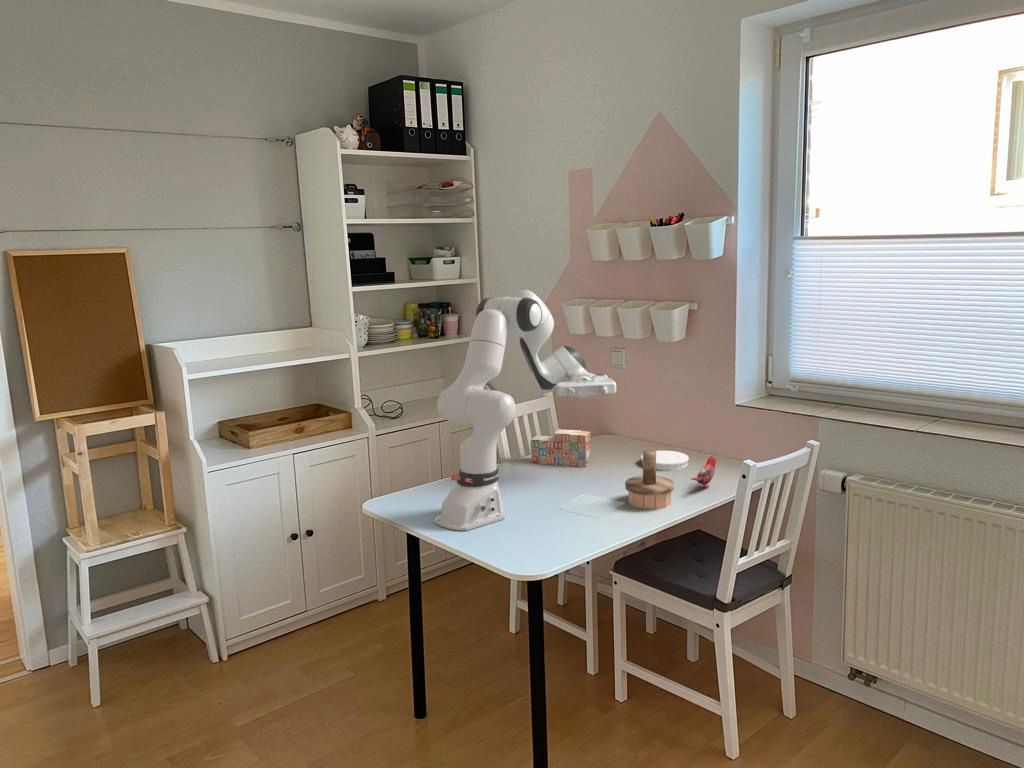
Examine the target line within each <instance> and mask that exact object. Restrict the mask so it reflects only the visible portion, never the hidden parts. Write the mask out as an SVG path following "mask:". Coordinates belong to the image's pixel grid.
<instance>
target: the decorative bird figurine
mask: <svg viewBox="0 0 1024 768" xmlns="http://www.w3.org/2000/svg"><path fill="white" fill-rule="evenodd" d="M716 465H717V459H716V457H715V456H714V455H711V456H710V457H709V458H707V461H706V463H705V465H703V467H702V469H701V470H700V471H699V473H698V474H697V475H696V477H691V478H690V480H692V481H696V482H697V484H699V485H702V486H703V488H702V490H705V489H708V488H709V487H710V484H709V483H711V481H712V479H713V478H714V475H715V471H716Z"/></svg>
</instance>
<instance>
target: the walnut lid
mask: <svg viewBox="0 0 1024 768" xmlns="http://www.w3.org/2000/svg"><path fill="white" fill-rule="evenodd" d="M656 451H657V450H653V449H652V450H651V449H647V450H643V451H642V455H643V465H642V475H638V476H633V477H629V478H628V479H626V480H625V482H624V485H625V486H624V487H625V490H627V492H628V491H629V492H632V493H635V494H640V495H662V494H667V493H670V492H671V493H672V492H673V491H674V490H675V482H674V481H673V480H672V479H670V478H668V477H664V476H658V475H657V470H656Z"/></svg>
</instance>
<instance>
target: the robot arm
mask: <svg viewBox="0 0 1024 768" xmlns="http://www.w3.org/2000/svg"><path fill="white" fill-rule="evenodd" d="M554 327H555V320H554V317H553V315H552V313H551V311H550V310H549V308H548V307H547V306H546V304H545V303H544V302H543V300H542V299H541V298H540V297H539V296H538V295H537V294H535V293H534V292H533V291H531V290H529V289H523V290H519V291H517V292H516V293H514V295H512V296H499V297H498V296H497V297H486V298H484V299H482V300H481V301H480V302H479V304H478V305H477V307H476V310H475V321H474V324H473V327H472V330H471V333H470V337H469V342H468V347H467V352H466V357H465V360H464V363H463V364H464V365H463V367H462V369H461V372H460V373H459V375H458V377H457V378H456V379H455V381H454V382H453V383H452V384H451V385H450V386H448V387H447V388H446V389H444V390H442V392H441V393H440V395H439V397H438V398H437V403H436V405H437V411H438V414H439V416H440V417H441V418H442V419H443V420H446V421H449V422H452V423H455V424H462V425H468V426H469V425H470V426H472V427H473V429H472V430H473V431H472V435H470V436H468V437H466V438H464V439H463V441H462V442H461V444H460V446H459V458H460V459H459V461H460V469H459V472H458V474H456V473H451V475H450V480H451V481H454V482H456V484H455V485H454V487H453V488H452V490H450V492H449V493H448V495H447V496H446V497H445V498H444V500H443V501H442V504H441V513H440V514H439V515H437V516H436V517H434V519H433V522H434V523H435V524H436V525H438V526H439V527H443V528H445V529H449V530H454V531H466V532H467V531H471V530H473V529H475V528H476V529H477V528H479V527H483V526H485V525H489V524H492V523H495V522H498V521H501V520H504V519H505V518H506V516H505V510H504V507H503V503H502V497H501V492H500V487H499V482H498V481H499V479H500V477H499V474H500V472H499V467H497V466H498V463H497V462H498V461H497V447H498V440H499V437H500V435H501V433H502V432H503V430H504V429H505V428H506V427H508V426H509V425H510V424H511V423H512V421H513V420H514V418H515V416H516V412H517V411H516V410H517V408H516V403H515V400H514V398H513V396H511V395H510V394H508V393H505V392H503V391H499V390H493V389H485V388H484V387H485V386H486V384H487V383H488V382H489V381H491V380H492V379H494V378H496V377H498V376H499V374H500V373H501V371H502V367H503V363H504V362H503V361H504V355H505V350H506V343H507V336H508V335H507V333H519V332H520V333H521V335H520V338H519V340H518V341H519V346H520V349H521V351H522V354H523V356H524V358H525V360H526V363H527V366H528V368H529V371H530V373H531V377H532V380H533V381H534V383H535V385H536V387H538V388H539V389H541V390H543V391H552V390H553V389H554V390H555V391H556V395H557V396H559V397H571V396H572V397H577V398H579V399H586V398H589V397H593V396H596V395H597V396H598V395H599V396H600V395H609V394H611V395H613V394H616V393H617V383H616V381H615V380H613V378H610V377H608V375H607V374H597V373H591V372H588V371H587V370H586V369H587V367H586V362H585V360H584V358H583V357H582V355H581V354H580V353H579V352H578V350H576V349H575V348H574V347H572V346H569V345H562V346H561V347H560V348H558V349H556V350H555V351H554V352H553V353H552V354H550V355H549V356H548V357H547V358H545V359H544V360H542V361H541V360H540V358H539V356H538V354H539V351H540V349H541V347H542V346H543V345H544V344H545V342H546V341H547V340H548V339H549V338H550V337H551V335H552V333H553V331H554ZM563 380H565V381H563Z"/></svg>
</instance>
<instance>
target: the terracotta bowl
mask: <svg viewBox="0 0 1024 768" xmlns="http://www.w3.org/2000/svg"><path fill="white" fill-rule="evenodd" d="M627 492H628V504H630V505H631V506H632V507H634V508H637V509H638V508H639V509H643V510H646V509H647V510H658V509H663V508H667V507H669V506H670V505H672V492H670V493H667V494H662V495H640V494H635V493H632V492H629V491H628V490H627Z"/></svg>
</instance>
